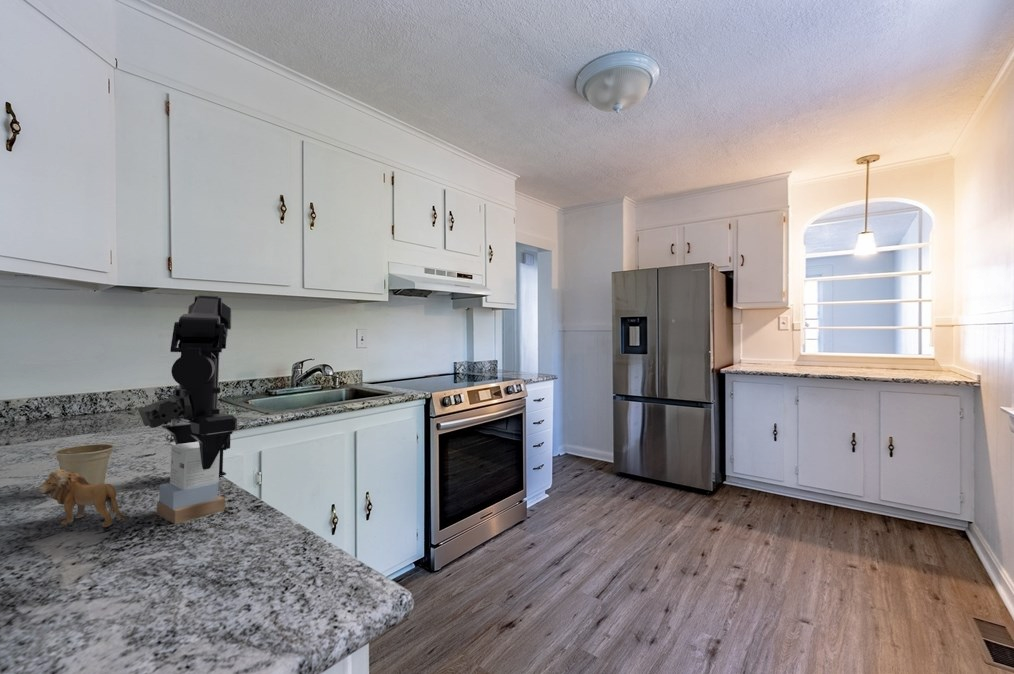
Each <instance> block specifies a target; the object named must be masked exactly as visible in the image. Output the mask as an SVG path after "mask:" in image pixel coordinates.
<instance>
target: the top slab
mask: <svg viewBox="0 0 1014 674" xmlns="http://www.w3.org/2000/svg"><path fill="white" fill-rule="evenodd" d="M158 489H159V495H158V500H159V501H160V502H161V503H163V504H164V505H166V506H168V507H169V508H171V509H173V510H174V509H178V508H182V507H186V506H190V505H195V504H199V503H203V502H207V501H211V500H215V499H218V494H219V482H217V483H213V484H208V485H204V486H199V487H195V488H190V489H186V490H181V489H180V488H178V487H176V486H174V485H172V484H170V482H169V483H167V482H166V483H163V484H159V488H158Z"/></svg>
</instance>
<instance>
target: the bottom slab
mask: <svg viewBox="0 0 1014 674" xmlns="http://www.w3.org/2000/svg"><path fill="white" fill-rule="evenodd" d="M225 504H226V498H225V497H224V496H221V495H218V499H215V500H211V501H207V502H203V503H199V504H195V505H190V506H186V507H182V508H178V509H174V510H173V509H171V508H169V507H168V506H166V505H164V504H163V503H161V502H160V501H158V500H157V502H156V514H157V515H158V516H160V517H161V518H163V519H165V520H167V521H169V522H171V523H172V524H174V525H177V524H181V523H184V522H187V521H191V520H195V519H198V518H199V519H200V518H203V517H206V516H210V515H214V514H216V513H219V512H225V510H226V505H225Z"/></svg>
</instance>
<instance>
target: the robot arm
mask: <svg viewBox="0 0 1014 674" xmlns="http://www.w3.org/2000/svg"><path fill="white" fill-rule="evenodd" d="M231 329H232V309H231V307H230V306H228V305H227V304H225V303H224V302H223V298H222V297H219V296H218V295H203V294H199V295H195V296H194V302H193V303H191V304H190V305H189V306H188V310H187V313H183V314H182V315H181V316H179V318H178V321H175V322H174V324H173V330H172V337H171V344H170V353H180V357H179V358H177V359H176V360H175V361H174V362H173V365H172V367H171V372H170V373H171V376H172V378H173V380H174V381H175V383H177V384H178V387H174V389H173V390H172V396H171V397H167V398H164V399H162V400H158V401H156V402H153V403H151V404H147V405H145V406H142V407H140V408H139V409H137V411H138V414H139V416H140V418H141V420H142V423H143V425H144V427H149V428H152V429H153V428H154V429H155V428H159V427H161V428H162V429H164V430H166V431H167V432H169V433H171V435H172V437H173V440H174V443H175V445H176V444H184V443H191V442H199V447H200V455H201V463H202V468H203V469H204V470H206V469H210V467H211V466H212V464H213V462H214V460H215V459H216V457H217V455H218V453H219V451H220V459H219V475H221V476H220V477H222V476H223V477H224V476H226V475H227V472H225V471H224V466H223V465H224V451H227V450H228V449H231V435H232V434H233V433H234V431H236V430H237V429H238V419H237V418H236V417H235V416H234V415H232V414H229V413H224V412H223V413H222V412H221V410H220V408H219V407H218V402H219V401H218V399H219V397H218V396H219V394H221V387H219V371H220V353H223V352H222V351H223V349H224V350H225V349H227V338H228V334H229V333H228V331H229V330H231Z"/></svg>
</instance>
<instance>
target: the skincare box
mask: <svg viewBox="0 0 1014 674" xmlns="http://www.w3.org/2000/svg"><path fill="white" fill-rule="evenodd" d="M170 453H171V454H170V455H171V456H170V472H169V473H170V474H169V475H170V476H169V483H170V484H172V485H174V486H176V487H178V488H180V489H181V490H186V489H190V488H195V487H199V486H204V485H208V484H213V483H220V481H219V479H220V476H219V459H220V451H219V453H218V455H217V457H216V459H215V460H214V462H213V464H212V466H211V467H210V469H206V470H204V469H203V468H202V463H201V455H200V447H199V442H191V443H184V444H176V443H175V444H171V452H170Z"/></svg>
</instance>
